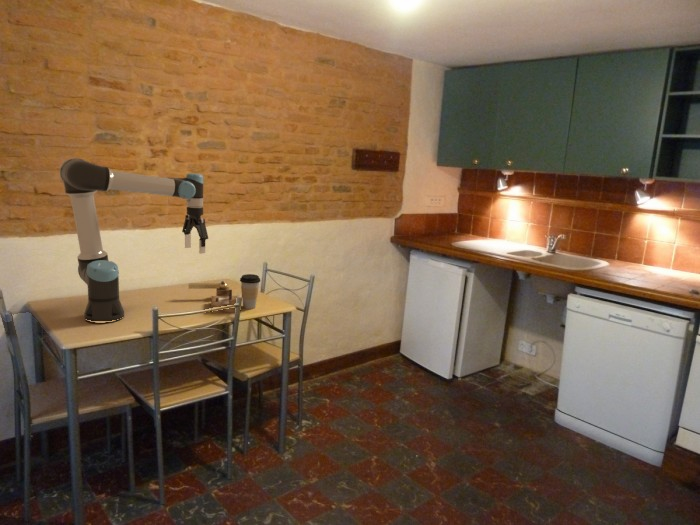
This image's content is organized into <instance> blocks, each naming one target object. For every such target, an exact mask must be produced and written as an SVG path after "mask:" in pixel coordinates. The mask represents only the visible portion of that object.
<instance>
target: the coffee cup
mask: <svg viewBox="0 0 700 525" xmlns="http://www.w3.org/2000/svg"><path fill="white" fill-rule="evenodd" d="M239 282H240V284H241V285H240V287H241V298H242V308H243V309H245V308H246V309H245V310H253V309H252V308H254V309H256V307H257V306H256V305H257V300H258V294H259V287H260V286H259V285H260V284H259V283H260V282H261V278H260V276H259V275H257V274H253V273H252V274H251V273H245V274H243V275H242V276H241V277H240V278H239Z"/></svg>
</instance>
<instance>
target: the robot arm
mask: <svg viewBox="0 0 700 525" xmlns="http://www.w3.org/2000/svg"><path fill="white" fill-rule="evenodd" d="M59 175H60V178H61V180H62V181H63V187H64V191H65V192H64V193H65V194H66V195H67V196H68V197H69V198H70V202H71V206H72V213H73V217H74V223H75V228H76V230H75V231H76V235H77V240H78V246H79V251H80V253H79V254H78V255H77V257H76V258H77V263H78V266H77V273H78V275H79V277H80V279H81V281H83V282H84V283H85V284H86V286H87V297H88V298H87V299H88V301H87V303H86V304H87V305H86V306H85V311H84V317H83V318H85V319H87V320H91V321H112V320H117V319H120V318H122V317H124V318H125V311H124V310H125V309H124V308H123V306H122V305H123V304H122V302H121V299H120V282H119V280H120V279H119V277H120V276H119V274H120V271H119V267H118V264H117V263H116V262H114V261H109V257H108V252H106V251H105V250H103V244H102V238H101V231H100V225H99V219H98V213H97V208H96V202H95V194H96V193H97V191H99V192H100V191H101V192H108V191H109V190H113V191H121V192H122V191H123V192H131V193H139V194H147V195H149V194H150V195H158V196H166V197H167V196H168V197H174V198H182V199H184V200H185V199H186V214H185V219H184V222H183V227H182V231H181V232H182V233H184V234H183V235H184V248H185V249H190V248H192V245H191V244H192V235H191V234H192V233H191V232H192V230H193V229H194V228H195V229H196V231H197V234H198V236H199V240H198V241H199V242H198V245H199V247H198V249H199V250H198V253H199V255H201V254H206V240H209V235H208V231H207V227H206V219H205V218H202V217H201V216H203V215H204V176H203V174H201V173H195V172H194V173H193V172H191V173H189V172H188V173H186V177H160V176H155V175H154V176H153V175H148V174H147V175H146V174H139V173H133V172H126V171H120V170H119V171H118V170H112V169H111V168H110V167H107V166H104V165H103V166H102V165H99V164H95V163H92V162H89V161H87V160H84V159H82V158H69V159H67V160H66V161H64V162H63V163H62V164H61V167H60V169H59ZM85 319H84V320H85Z"/></svg>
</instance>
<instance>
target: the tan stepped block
mask: <svg viewBox="0 0 700 525" xmlns="http://www.w3.org/2000/svg"><path fill="white" fill-rule="evenodd" d="M237 296H238V295H233V290H232V289H229V296H216V295H211V299H210V300H211V305H210V306H211V309H212V308H213V307H221V306H227V305H234V304H235V303H236V298H237ZM234 312H235V308H229V309H223V310H218V311H213V312H212V311H211V314H217V313H218V314H224V313H225V314H226V313H227V314H229V313H230V314H231V313H234Z"/></svg>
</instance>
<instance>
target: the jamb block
mask: <svg viewBox="0 0 700 525" xmlns="http://www.w3.org/2000/svg"><path fill="white" fill-rule="evenodd" d="M229 290H230V287H229V286H227V288H226V289H220V288H216V294H215V296H229Z"/></svg>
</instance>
